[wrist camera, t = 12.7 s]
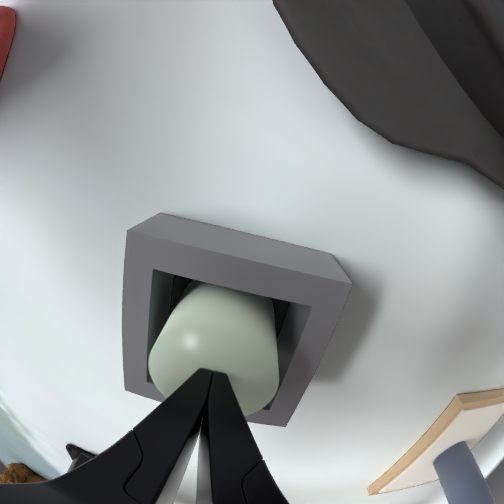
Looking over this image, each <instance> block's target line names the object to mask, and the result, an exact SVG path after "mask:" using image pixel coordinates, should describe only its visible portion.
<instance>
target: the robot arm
mask: <svg viewBox="0 0 504 504" xmlns="http://www.w3.org/2000/svg"><path fill="white" fill-rule="evenodd" d="M211 378H212V379H211ZM204 410H205V411H204ZM202 419H203V420H202ZM201 424H202V425H201ZM200 428H201V430H200ZM199 432H200V436H199ZM198 436H199V450H198V470H197V496H196V504H289V502H288V501H287V500H286V498H285V497H284V495H283V494H282V492H281V491H280V489H279V488H278V486H277V484H276V483H275V481H274V479H273V477H272V475H271V473H270V471H269V470H268V467H267V465H266V463H265V461H264V460H262V459H263V457H262V455H261V453H260V451H259V448H258V446H257V444H256V442H255V440H254V437H253V435H252V433H251V431H250V428H249V426H248V424H247V421H246V419H245V417H244V414H243V412H242V410H241V407H240V405H239V402H238V400H237V398H236V395H235V393H234V390H233V388H232V385H231V383H230V380H229V378H228V375H227V374H226V373H222V372H218V371H214V372H213V371H212V370H209V369H205V368H199V369H197V370H196V371H195V372H194V373H193V374H192V375H191V376H190V377H189V378H188V379H187V380H186V381H185V382H184V383H183V384H182V385H180V386H179V387H178V388H177V389H176V390H175V391H174V392H173V393H172V394H171V395H170V396H169V397H167V398H166V399H165V400H164V401H163V402H162V403H161V404H160V405H159V406H158V407H157V408H155V409H154V410H153V411H152V412H151V413H150V414H149V415H148V416H146V417H145V418H144V419H143V420H142V421H141V422H140V423H139V424H137V425H136V426H135V427H134V428H133V430H130V431H129V432H128V433H127V434H126V435H125V436H123V437H122V438H121V439H120V440H118V441H117V442H116V443H115V444H113V445H112V446H111V447H109V448H108V449H106V450H105V451H103V452H102V453H100V454H99V455H97V456H96V457H95V456H93V455H91V454H88V453H86V452H84V451H82V450H80V449H78V448H76V447H74V446H72V445H70V444H67V445H66V449H67V451H68V453H69V455H70V456H71V458H72V460H73V462H72V464H71V466H70V468H69V470H68V472H67V473H65V474H64V475H61V476H59V477H57V478H55V479H52V480H48V481H44V482H34V483H0V504H173V502H174V499H175V497H176V494H177V492H178V489H179V486H180V484H181V481H182V479H183V476H184V473H185V471H186V468H187V466H188V463H189V460H190V458H191V455H192V452H193V450H194V447H195V444H196V442H197V439H198Z"/></svg>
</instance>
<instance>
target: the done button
mask: <svg viewBox="0 0 504 504" xmlns="http://www.w3.org/2000/svg"><path fill="white" fill-rule="evenodd" d="M148 364H149V372H150V375H151V378H152V380H153V382H154V384H155V386H156V387H157V389H158V390H159V391H160V392H161V393H162V395H163V396H164V397H165V398H167V397H169V396H170V395H171V394H172V393H173V392H174V391H175V390H176V389H177V388H178V387H179V386H180V385H182V384H183V383H184V382H185V381H186V380H187V379H188V378H189V377H190V376H191V375H192V374H193V373H194V372H195V371H196V370H197V369H199V368H205V369H209V370H212V371H213V372H214V371H218V372H222V373H226V374H227V375H228V378H229V380H230V383H231V385H232V388H233V390H234V393H235V395H236V398H237V400H238V402H239V405H240V407H241V410H242V412H243V414H244V416H248V415H250V414H253V413H255V412H257V411H259V410H261V409H262V408H263V407H265V406H266V405H267V404H268V403H269V402H270V401H271V400H272V398H273V397H274V395H275V394H276V392H277V389H278V385H279V369H278V355H277V342H276V329H275V316H274V307H273V303H272V300H271V298H270V297H266V296H261V295H257V294H253V293H248V292H244V291H240V290H235V289H231V288H227V287H223V286H219V285H214V284H210V283H206V282H202V281H198V280H193V281H192V282H191V283H190V284H189V285H188V286H187V287H186V289H185V291H184V292H183V294H182V296H181V298H180V299H179V301H178V303H177V305H176V306H175V308H174V310H173V312H172V313H171V315H170V317H169V319H168V321H167V322H166V324H165V326H164V328H163V330H162V331H161V333H160V335H159V337H158V339H157V340H156V342H155V344H154V346H153V348H152V350H151V352H150V355H149V362H148ZM211 379H212V378H211ZM204 411H205V410H204Z"/></svg>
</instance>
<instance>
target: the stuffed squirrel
mask: <svg viewBox="0 0 504 504" xmlns="http://www.w3.org/2000/svg"><path fill="white" fill-rule="evenodd" d="M8 466H9V469H8V470H5V471H4V472H5V473H3V474H1V476H0V483H34V482H44V481H47V480H46V479H44V478H42V477H40V476H38V475H36V474H34V472H33V471H31V470H30V469H29V468H28V467H26V466H25V465H22V464H19V463H11V464H8Z"/></svg>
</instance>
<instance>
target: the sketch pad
mask: <svg viewBox="0 0 504 504" xmlns="http://www.w3.org/2000/svg"><path fill="white" fill-rule="evenodd" d="M503 413H504V389H498V390H492V391H485V392H478V393H469V394H459V395H456V396H455V398H454V399H453V400H452V402H451V403H450V404H449V406H448V407H447V408H446V409H445V411H444V412H443V413H442V414H441V416H440V417H439V418H438V419H437V420H436V422H435V423H434V424H433V425H432V426H431V427H430V429H429V430H428V431H427V432H426V433H425V434H424V435H423V436H422V437H421V438H420V440H419V441H418V442H417V443H416V444H415V445H414V446H413V447H412V448H411V449H410V450H409V451H408V452H407V453H406V454H405V455H404V456H403V457H402V458H401V459H400V460H399V461H398V462H397V463H396V464H395V465H393V466H392V467H391V468H390V469H389V470H388V471H387V472H386V473H385V474H383V475H382V476H381V477H380V478H379V479H378V480H376V481H375V482H374V483H373V484H372V485H370V486H369V487H368V488H367V489H368V494H369V495H376V494H381V493H387V492H392V491H397V490H402V489H406V488H410V487H414V486H418V485H422V484H426V483H429V482H433V481H436V480H438V479H439V478H438V475H437V473H436V471H435V468H434V466H433V461H434V460H435V459H436V458H437V457H438V456H439V455H440V454H441V453H443V452H444V451H445V450H447V449H448V448H450V447H452V446H453V445H455V444H457V443H459V442H463V441H465V442H466V444H467V446H468V448H469V449H470V450H471V449H472V448H473V447H474V446H475V445H476V444H477V443H478V442H479V441H480V440H481V439H482V438H483V437H484V436H485V435H486V433H487V432H488V431H489V430H490V429H491V428H492V427H493V426H494V424H495V423H496V422H497V421H498V420H499V418H500V417H501V416H502V415H503Z"/></svg>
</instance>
